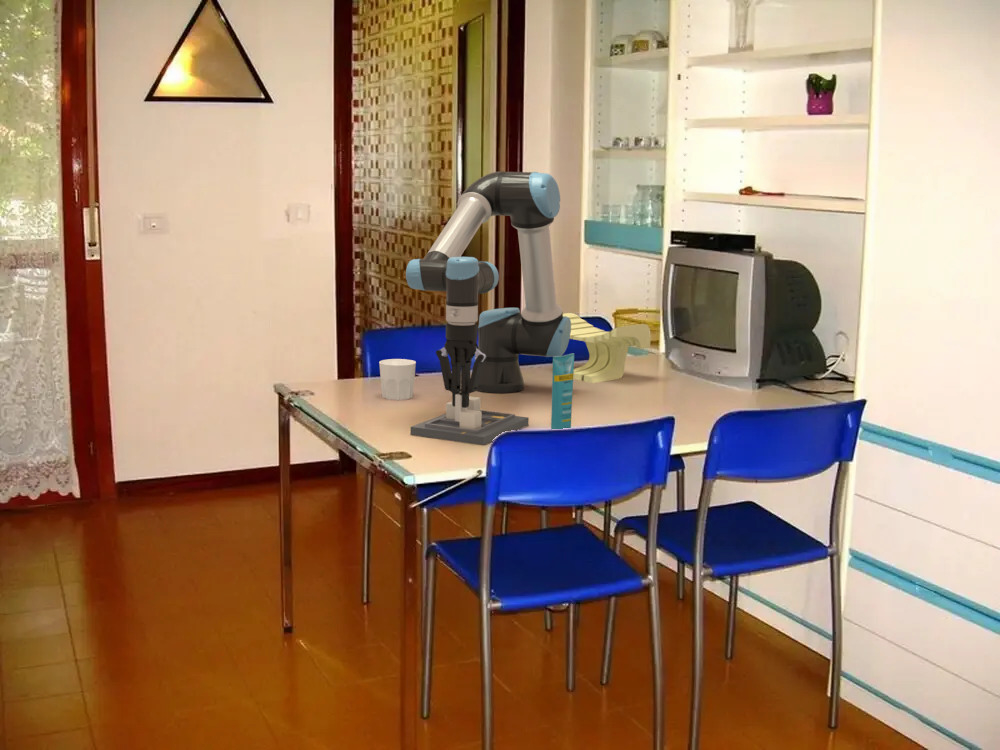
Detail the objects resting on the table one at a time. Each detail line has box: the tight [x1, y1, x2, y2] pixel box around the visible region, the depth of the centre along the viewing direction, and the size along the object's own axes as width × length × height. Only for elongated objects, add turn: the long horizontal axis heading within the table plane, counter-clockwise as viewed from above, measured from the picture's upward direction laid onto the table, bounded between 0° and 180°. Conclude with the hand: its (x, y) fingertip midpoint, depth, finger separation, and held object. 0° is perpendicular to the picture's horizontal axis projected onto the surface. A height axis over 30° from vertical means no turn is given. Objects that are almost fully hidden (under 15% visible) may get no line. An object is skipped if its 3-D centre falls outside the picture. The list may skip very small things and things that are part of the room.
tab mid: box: [445, 401, 467, 419], centre depth 290 cm, size 4×4×4 cm
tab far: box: [467, 395, 482, 411], centre depth 296 cm, size 4×4×4 cm
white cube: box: [460, 410, 482, 430], centre depth 281 cm, size 4×4×4 cm
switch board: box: [410, 409, 529, 446], centre depth 289 cm, size 20×24×3 cm
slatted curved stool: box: [563, 312, 652, 384], centre depth 360 cm, size 30×16×18 cm, turn 44°
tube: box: [550, 353, 575, 430], centre depth 287 cm, size 7×5×19 cm, turn 139°
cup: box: [378, 358, 417, 401], centre depth 325 cm, size 10×10×10 cm
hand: (460, 420), depth 282 cm, fingers closed
